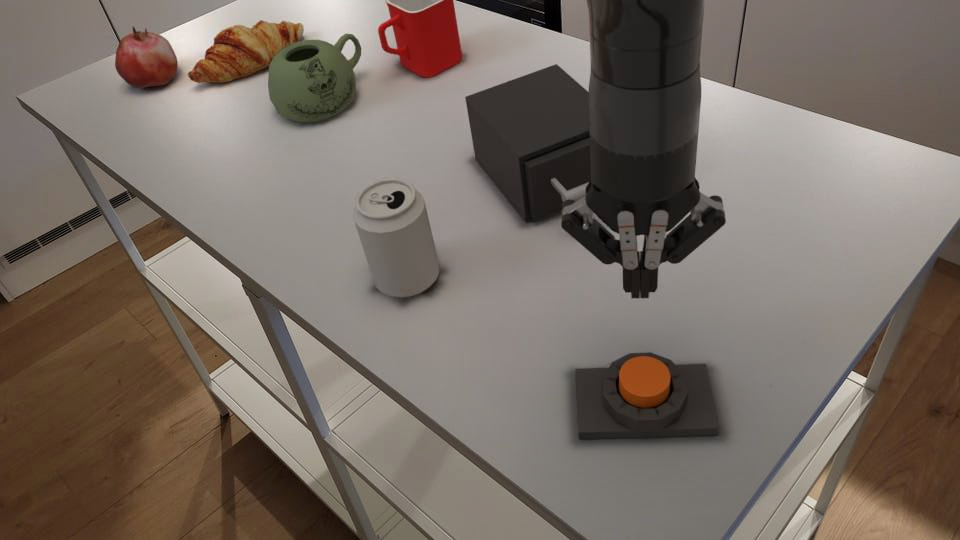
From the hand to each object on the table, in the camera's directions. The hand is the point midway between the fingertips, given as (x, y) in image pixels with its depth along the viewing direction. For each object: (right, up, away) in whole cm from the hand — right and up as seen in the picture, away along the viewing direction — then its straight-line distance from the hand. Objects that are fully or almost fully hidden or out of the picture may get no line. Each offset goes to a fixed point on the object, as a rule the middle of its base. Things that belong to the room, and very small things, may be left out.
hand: (640, 291), depth 65 cm
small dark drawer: (-4, +12, +27) cm, 30 cm away
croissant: (-51, +36, +61) cm, 87 cm away
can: (-22, +1, +20) cm, 30 cm away
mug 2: (-23, +33, +53) cm, 66 cm away
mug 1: (-37, +27, +50) cm, 68 cm away
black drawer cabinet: (-6, +14, +30) cm, 34 cm away
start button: (+1, -9, +2) cm, 9 cm away
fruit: (-67, +33, +60) cm, 96 cm away
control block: (+1, -10, +4) cm, 11 cm away
